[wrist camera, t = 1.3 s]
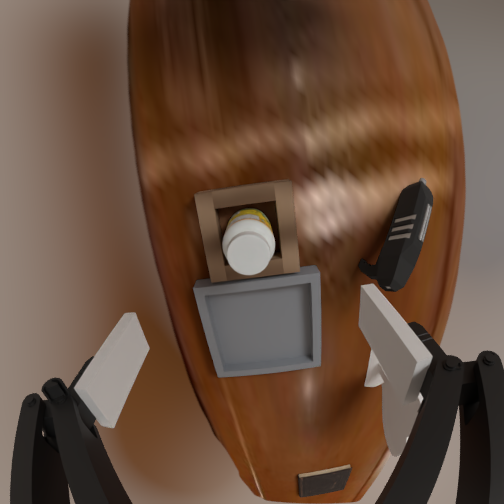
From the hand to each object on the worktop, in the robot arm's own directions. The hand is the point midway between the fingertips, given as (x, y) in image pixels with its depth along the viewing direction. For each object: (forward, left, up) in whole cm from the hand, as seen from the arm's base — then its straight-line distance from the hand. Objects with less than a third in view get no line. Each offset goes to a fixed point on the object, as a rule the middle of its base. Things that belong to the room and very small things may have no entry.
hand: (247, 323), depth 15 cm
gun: (+1, +19, -21) cm, 28 cm away
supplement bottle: (0, 0, -21) cm, 21 cm away
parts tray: (+14, 0, -20) cm, 25 cm away
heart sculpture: (+27, +20, -21) cm, 39 cm away
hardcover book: (+84, +12, -21) cm, 87 cm away
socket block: (0, 0, -20) cm, 20 cm away
